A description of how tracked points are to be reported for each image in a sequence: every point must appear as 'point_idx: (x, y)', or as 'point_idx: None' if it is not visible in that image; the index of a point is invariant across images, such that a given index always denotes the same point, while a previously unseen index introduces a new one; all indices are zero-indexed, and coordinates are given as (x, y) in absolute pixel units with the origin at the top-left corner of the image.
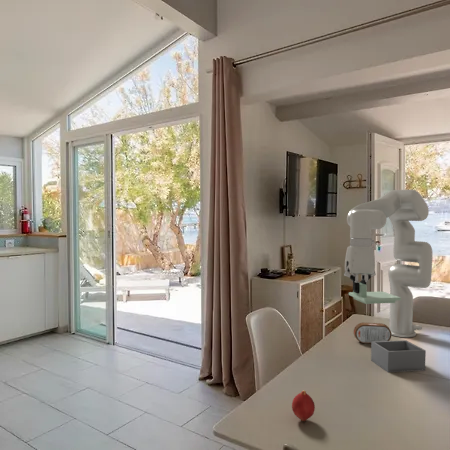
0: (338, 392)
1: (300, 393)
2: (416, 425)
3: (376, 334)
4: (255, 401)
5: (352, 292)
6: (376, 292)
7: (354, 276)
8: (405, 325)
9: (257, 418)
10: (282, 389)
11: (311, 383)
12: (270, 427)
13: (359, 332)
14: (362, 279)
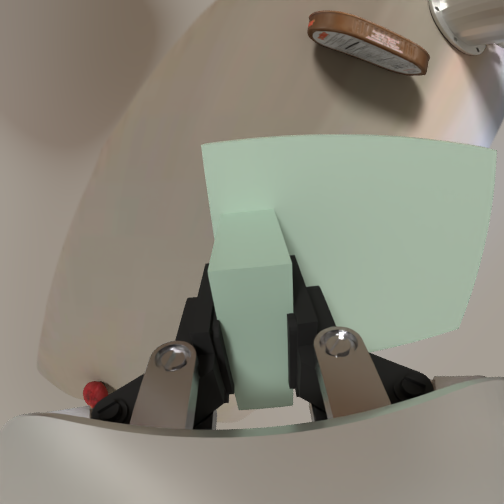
0: (145, 339)
1: (88, 404)
2: (226, 404)
3: (379, 56)
4: (46, 340)
5: (241, 149)
6: (451, 175)
7: (181, 412)
8: (479, 39)
9: (59, 369)
10: (66, 319)
11: (104, 306)
12: (74, 382)
13: (324, 34)
14: (312, 376)
